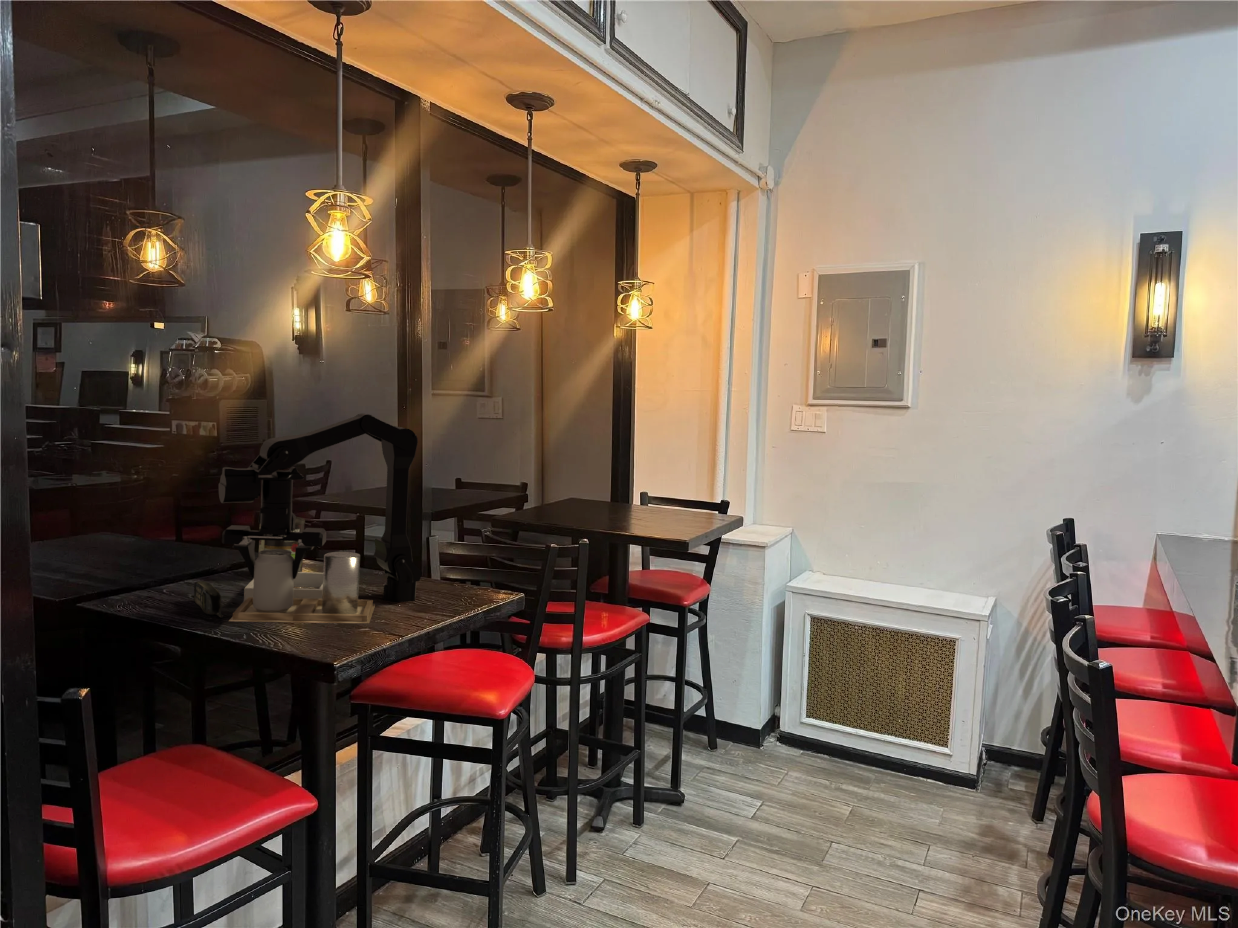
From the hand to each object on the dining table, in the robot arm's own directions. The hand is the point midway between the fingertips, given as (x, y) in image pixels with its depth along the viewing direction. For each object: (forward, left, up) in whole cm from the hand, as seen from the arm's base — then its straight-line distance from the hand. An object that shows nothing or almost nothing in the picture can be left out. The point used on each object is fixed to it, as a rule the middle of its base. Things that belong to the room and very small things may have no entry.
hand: (274, 577), depth 163 cm
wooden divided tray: (-6, 0, -8) cm, 11 cm away
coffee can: (+6, -36, -9) cm, 37 cm away
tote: (0, -16, -8) cm, 18 cm away
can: (0, 0, -7) cm, 7 cm away
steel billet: (-13, 0, -7) cm, 15 cm away
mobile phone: (+14, -6, -9) cm, 17 cm away
